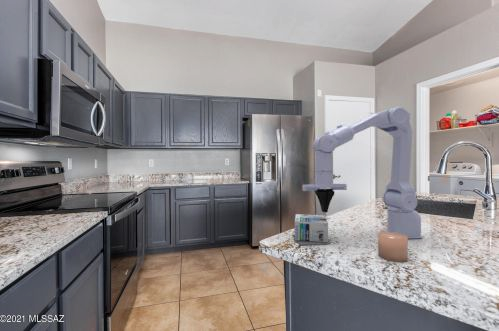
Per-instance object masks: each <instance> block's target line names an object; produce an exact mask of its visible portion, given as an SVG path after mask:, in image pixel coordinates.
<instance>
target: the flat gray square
mask: <svg viewBox="0 0 499 331" xmlns="http://www.w3.org/2000/svg"><path fill="white" fill-rule="evenodd" d="M291 236H292V237H293V238H294V236H295V234H292V235H291ZM295 241H296V243H297V244H298V246H303V247H304V246H325V245H327V244H330V245H331V243H330V242H329V241H328V242H315V241H300V240H295Z"/></svg>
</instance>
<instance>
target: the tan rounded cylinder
mask: <svg viewBox="0 0 499 331" xmlns="http://www.w3.org/2000/svg"><path fill="white" fill-rule="evenodd" d="M408 243H409V239H408V237H407V236H406V235H404V234H401V233H396V232H382V231H380V232H378V234H377V244H378V246H377V255H378V257H379V258H381V259H383V260H386V261H389V262H394V263H405V262H408V259H409V257H408V256H409V252H408V250H409V248H408V247H409V244H408Z"/></svg>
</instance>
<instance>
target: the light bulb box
mask: <svg viewBox="0 0 499 331" xmlns="http://www.w3.org/2000/svg"><path fill="white" fill-rule="evenodd" d="M294 235H295V236H294V237H293V238H294V241H296V240H300V241H315V242H329V241H328V240H329V222H328V219H327V216H326V215H323V214H320V215H319V214H300V213H299V214H298V213H296V214H295V217H294Z"/></svg>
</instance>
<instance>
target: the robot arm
mask: <svg viewBox="0 0 499 331" xmlns="http://www.w3.org/2000/svg"><path fill="white" fill-rule="evenodd" d="M410 117H411V113H410V112H409V111H408V110H406V108H404V107H403V106H398V105H397V106H394V107H392V108H389V109H386V110H382V111H379V112H376V113H372V114H369V115H368V116H366V117H364V118H362V119H360V120H359V121H357V122H355V123H353V124H352V125H347V124H339V125H337V126H336V128H335V129H333V130H331V131H326V132H324V135H321V136H318V137H316V138H315V139H314V140H313V143H312V145H311V147H312V150H313V151H314V156H315V158H314V162H315V165H314V166H315V183H313V184H312V183H309V184H308V183H307V184H302V187H301V188H302V191H303V192H307V191H308V192H309V191H311V192H312V191H314V194H315V196H316V197H317V199H318V203H319V205H320V208H321V212H323V213H328V212H329V207H330V204H331V202H332V199H333V197H334V196H335V191H342V190H343V191H347V188H348V187H347V186H348V184H346V183H334V151H335V150H336V149H337V148H338V147H341V146H342V145H344V144H346V143H349V142H350V141H353V139H354V137H355V135H356V134H358V133H360V132H362V131H365V130H366V129H369V128H371V127H373V128H374V127H375V128H377V129H379V130H381V131H383V132H385V133H387V134H389V135H390V136H391V137H392V138H393V140H392V153H391V154H392V157H391V175H390V182H389V183H388V184H387V185H386V186H385V191H384V193H383V195H382V201H383V203H384V204H385V205H386V209H387V230H381V232H396V233H401V234H404V235H406V236H407V237H408V240H409V239H423V236H422V221H421V220H422V218H421V215H420V214H419V212H418V211H417V210H416V207H417V205H418V197H417V195H416V188H415V187H414V186H413V185H412V184H411V183H410V179H411V178H410V177H411V164H412V163H411V160H412V147H413V146H412V144H413V129H412V126H411V121H410V120H411V118H410Z"/></svg>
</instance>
